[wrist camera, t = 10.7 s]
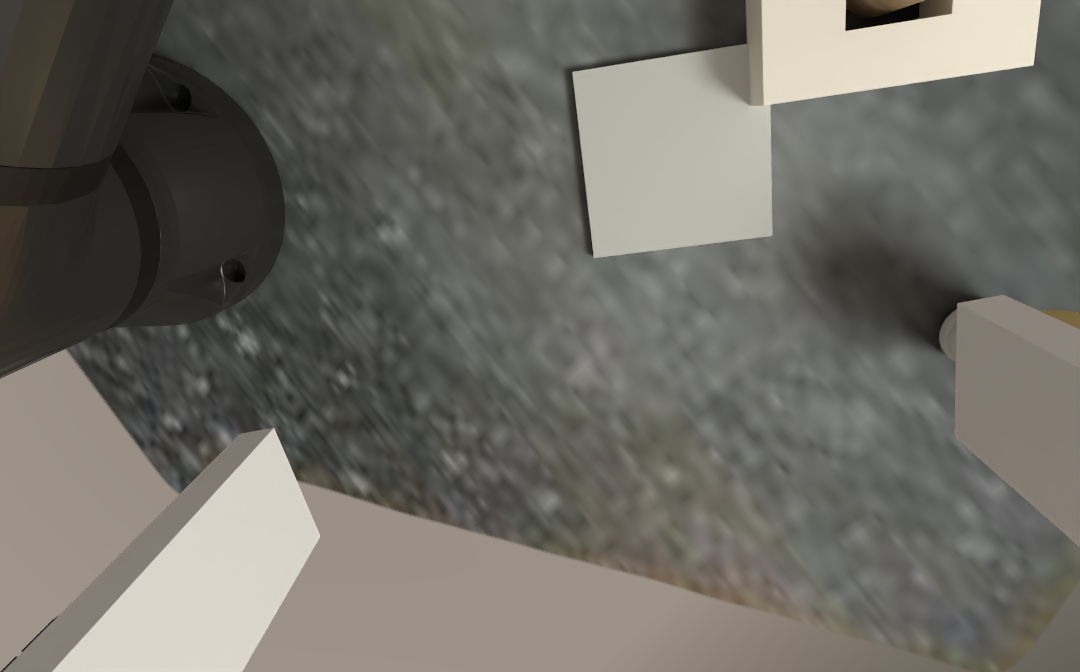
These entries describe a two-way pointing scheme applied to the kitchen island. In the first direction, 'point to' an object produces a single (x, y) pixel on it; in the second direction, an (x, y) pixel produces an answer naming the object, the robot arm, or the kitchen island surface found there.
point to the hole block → (880, 46)
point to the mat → (674, 152)
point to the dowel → (876, 6)
